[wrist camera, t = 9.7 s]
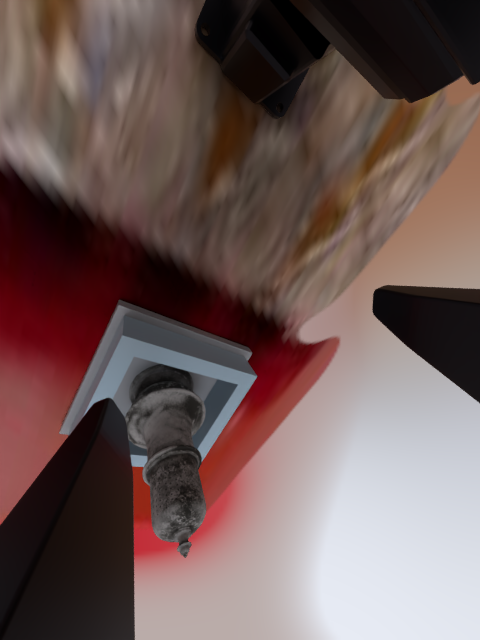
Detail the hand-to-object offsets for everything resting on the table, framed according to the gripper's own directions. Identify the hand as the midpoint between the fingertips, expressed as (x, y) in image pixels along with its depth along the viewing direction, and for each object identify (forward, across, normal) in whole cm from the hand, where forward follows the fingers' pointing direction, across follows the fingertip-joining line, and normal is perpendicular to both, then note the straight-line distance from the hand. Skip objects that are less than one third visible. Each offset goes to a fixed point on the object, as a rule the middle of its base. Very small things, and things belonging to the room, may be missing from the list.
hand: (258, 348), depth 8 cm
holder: (+13, +6, +10) cm, 17 cm away
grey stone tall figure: (+12, +6, +10) cm, 17 cm away
